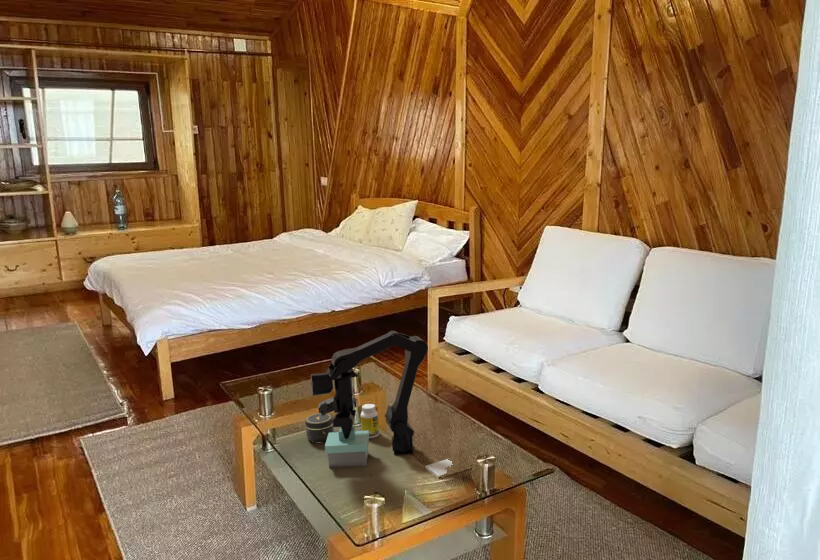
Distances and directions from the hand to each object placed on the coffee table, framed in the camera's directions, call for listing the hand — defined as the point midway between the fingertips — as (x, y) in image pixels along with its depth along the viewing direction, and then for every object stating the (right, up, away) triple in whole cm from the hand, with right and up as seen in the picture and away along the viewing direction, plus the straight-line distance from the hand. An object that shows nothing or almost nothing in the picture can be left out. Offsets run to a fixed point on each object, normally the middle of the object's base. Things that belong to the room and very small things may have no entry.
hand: (347, 436), depth 200 cm
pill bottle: (+6, -5, +20) cm, 22 cm away
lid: (0, -3, +1) cm, 3 cm away
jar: (-12, -6, +20) cm, 24 cm away
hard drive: (+33, -9, -7) cm, 35 cm away
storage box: (0, -8, +1) cm, 8 cm away
